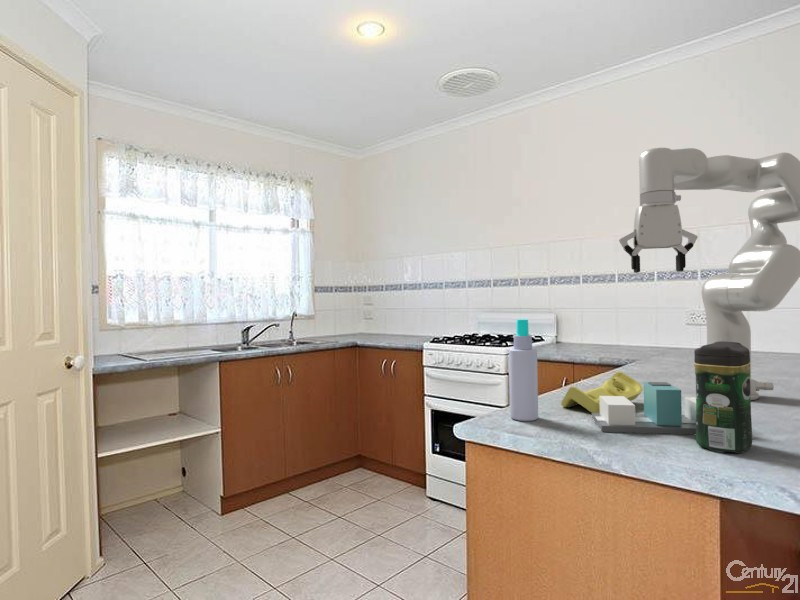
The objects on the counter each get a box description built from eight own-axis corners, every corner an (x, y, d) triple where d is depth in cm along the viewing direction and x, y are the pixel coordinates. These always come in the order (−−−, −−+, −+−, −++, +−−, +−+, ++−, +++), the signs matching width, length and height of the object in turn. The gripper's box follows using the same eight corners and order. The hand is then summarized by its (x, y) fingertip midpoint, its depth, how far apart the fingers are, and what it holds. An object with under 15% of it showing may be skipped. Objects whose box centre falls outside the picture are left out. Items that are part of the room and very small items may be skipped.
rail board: (716, 421, 106) (716, 396, 106) (741, 436, 95) (741, 408, 95) (591, 418, 111) (591, 394, 111) (601, 431, 100) (601, 405, 100)
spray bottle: (544, 418, 111) (542, 319, 111) (526, 423, 108) (524, 320, 108) (522, 413, 116) (520, 318, 116) (504, 418, 113) (502, 319, 112)
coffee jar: (706, 436, 95) (705, 338, 95) (756, 445, 90) (755, 340, 89) (689, 447, 89) (687, 342, 89) (742, 457, 83) (740, 345, 83)
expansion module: (666, 414, 107) (666, 381, 107) (681, 425, 98) (681, 389, 98) (644, 414, 108) (643, 380, 108) (656, 425, 99) (656, 388, 99)
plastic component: (603, 407, 112) (567, 382, 119) (591, 433, 115) (557, 407, 122) (650, 389, 123) (615, 367, 130) (639, 413, 126) (605, 391, 133)
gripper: (690, 201, 124) (691, 271, 124) (615, 205, 127) (616, 273, 127) (702, 196, 117) (703, 270, 117) (622, 200, 120) (623, 272, 120)
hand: (658, 271), depth 122 cm, fingers open, 9 cm apart
